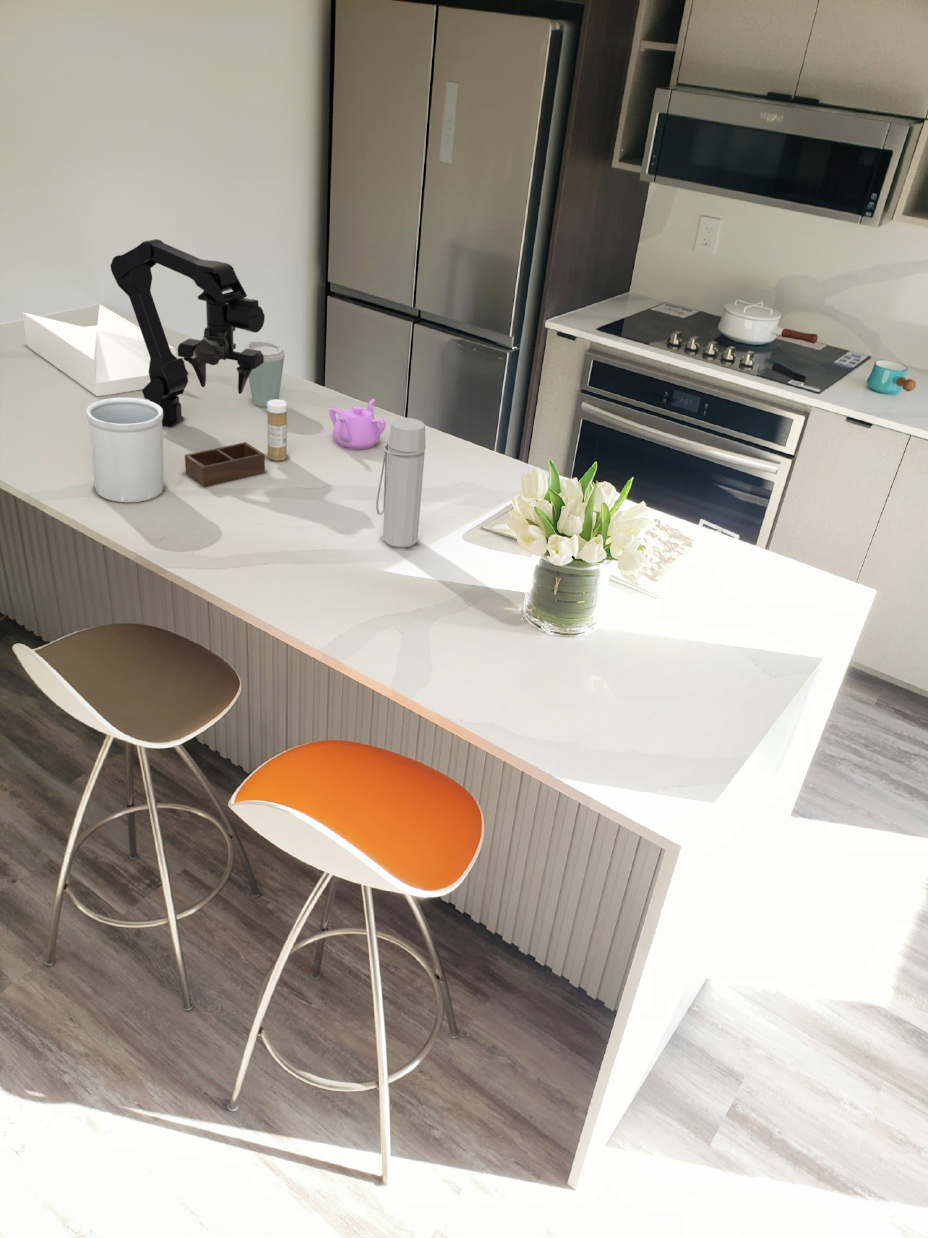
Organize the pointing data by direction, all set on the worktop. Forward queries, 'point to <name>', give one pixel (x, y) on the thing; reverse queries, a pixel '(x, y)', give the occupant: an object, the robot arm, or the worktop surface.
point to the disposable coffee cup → (266, 372)
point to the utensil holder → (126, 448)
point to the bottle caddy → (224, 464)
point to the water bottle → (403, 482)
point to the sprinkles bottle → (277, 429)
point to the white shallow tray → (93, 351)
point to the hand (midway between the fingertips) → (221, 389)
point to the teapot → (357, 427)
